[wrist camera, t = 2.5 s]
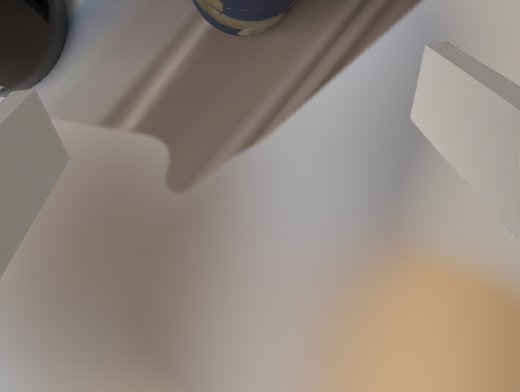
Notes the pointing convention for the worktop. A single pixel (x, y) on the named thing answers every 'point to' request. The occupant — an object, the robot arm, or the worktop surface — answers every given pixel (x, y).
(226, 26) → the canister
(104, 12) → the worktop surface
